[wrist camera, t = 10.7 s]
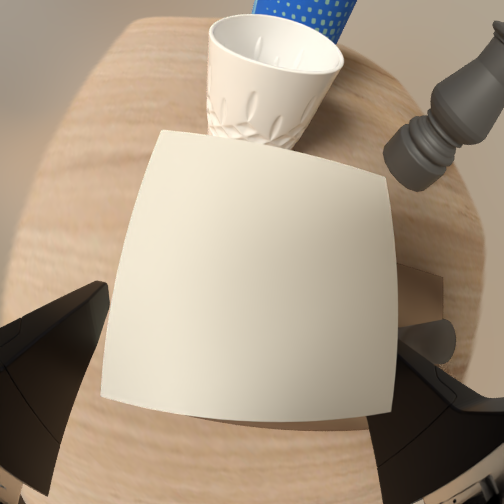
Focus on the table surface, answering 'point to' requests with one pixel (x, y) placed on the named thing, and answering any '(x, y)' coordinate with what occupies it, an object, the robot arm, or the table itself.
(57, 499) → the table surface
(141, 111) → the table surface
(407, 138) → the candle holder
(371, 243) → the tall white prism
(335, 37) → the beer can
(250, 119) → the white cup
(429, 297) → the board
